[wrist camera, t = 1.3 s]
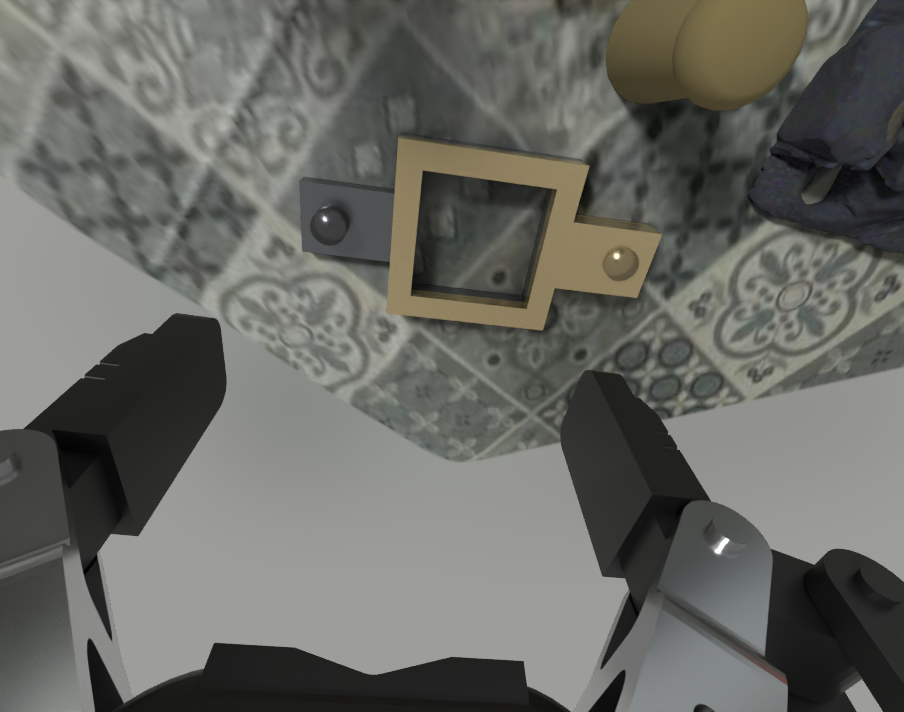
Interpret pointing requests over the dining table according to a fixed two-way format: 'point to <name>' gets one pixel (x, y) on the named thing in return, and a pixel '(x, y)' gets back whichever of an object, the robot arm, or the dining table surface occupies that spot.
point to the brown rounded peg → (704, 50)
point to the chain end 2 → (560, 247)
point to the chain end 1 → (375, 222)
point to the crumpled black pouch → (847, 139)
